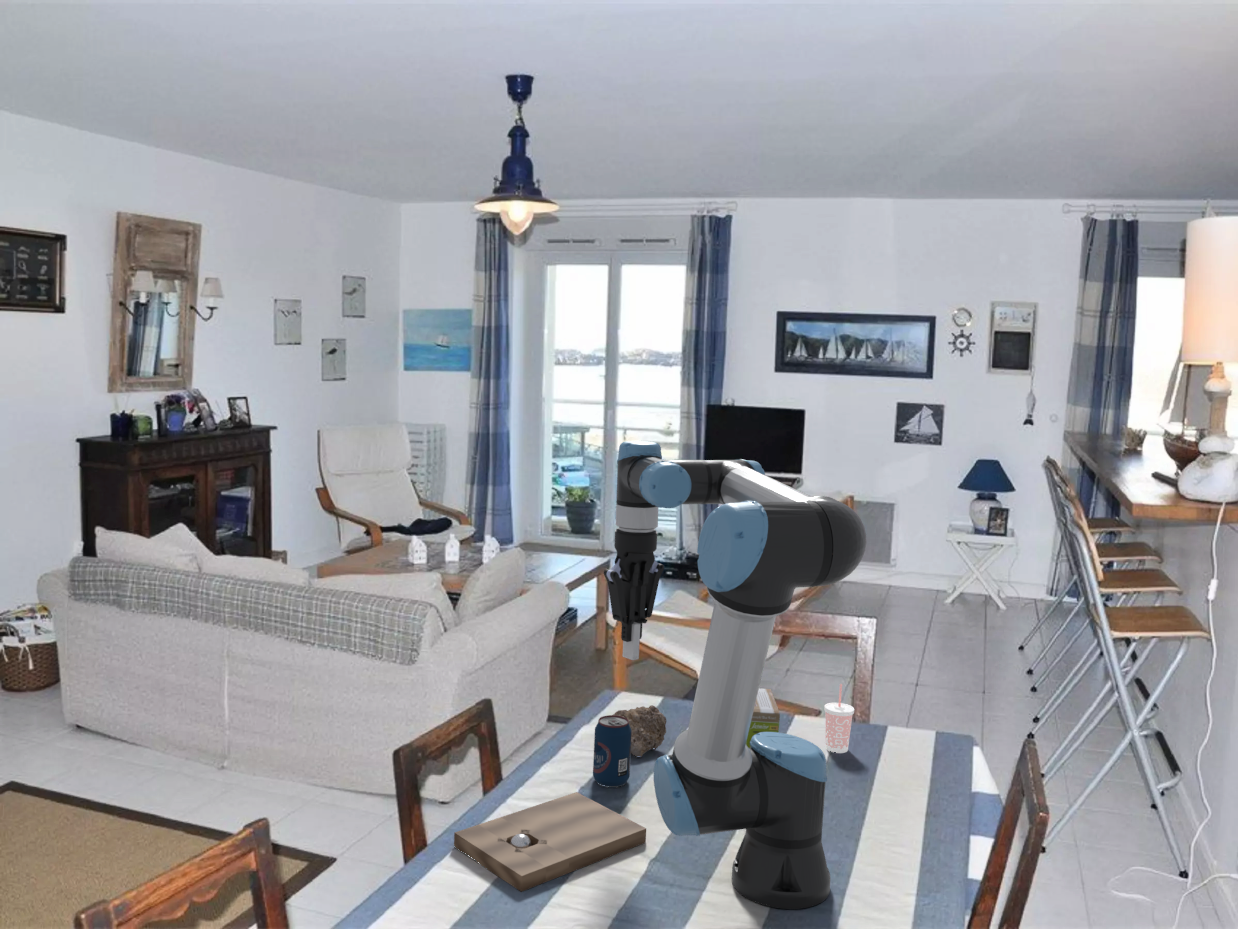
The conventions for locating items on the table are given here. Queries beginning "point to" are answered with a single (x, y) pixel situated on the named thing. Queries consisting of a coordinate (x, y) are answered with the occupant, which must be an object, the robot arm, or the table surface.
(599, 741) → the soda can
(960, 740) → the table surface
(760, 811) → the robot arm
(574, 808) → the walnut board
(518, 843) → the steel ball
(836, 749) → the beverage cup
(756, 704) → the tea box
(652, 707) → the brown rock
